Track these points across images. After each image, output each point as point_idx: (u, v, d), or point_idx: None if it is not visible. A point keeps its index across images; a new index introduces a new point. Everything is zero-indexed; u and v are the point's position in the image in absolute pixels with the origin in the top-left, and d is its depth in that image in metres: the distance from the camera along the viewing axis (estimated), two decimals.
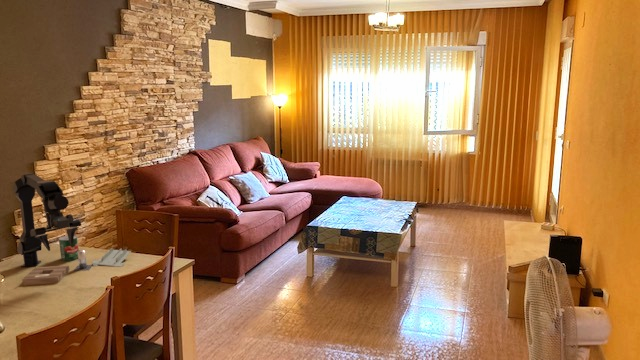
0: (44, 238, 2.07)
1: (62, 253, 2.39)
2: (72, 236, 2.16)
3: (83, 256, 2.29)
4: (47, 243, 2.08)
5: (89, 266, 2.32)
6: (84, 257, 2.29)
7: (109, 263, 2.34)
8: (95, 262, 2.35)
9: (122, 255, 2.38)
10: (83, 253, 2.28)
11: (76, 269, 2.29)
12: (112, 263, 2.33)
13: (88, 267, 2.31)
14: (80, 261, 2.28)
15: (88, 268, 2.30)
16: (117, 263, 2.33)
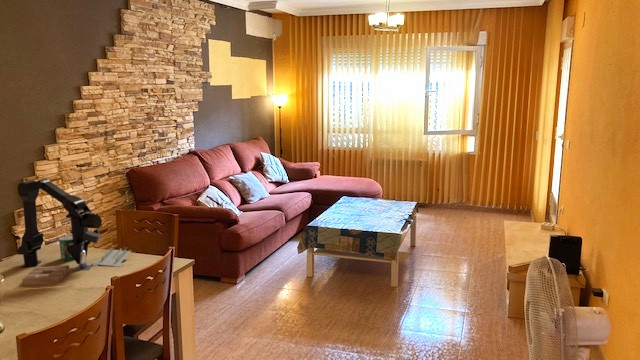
0: (80, 252, 2.23)
1: (62, 253, 2.39)
2: (87, 248, 2.34)
3: (83, 256, 2.29)
4: (80, 257, 2.24)
5: (89, 266, 2.32)
6: (84, 257, 2.29)
7: (109, 263, 2.33)
8: (95, 262, 2.35)
9: (122, 255, 2.38)
10: (83, 253, 2.28)
11: (76, 269, 2.29)
12: (112, 263, 2.33)
13: (88, 267, 2.31)
14: (80, 261, 2.28)
15: (88, 268, 2.30)
16: (117, 263, 2.33)
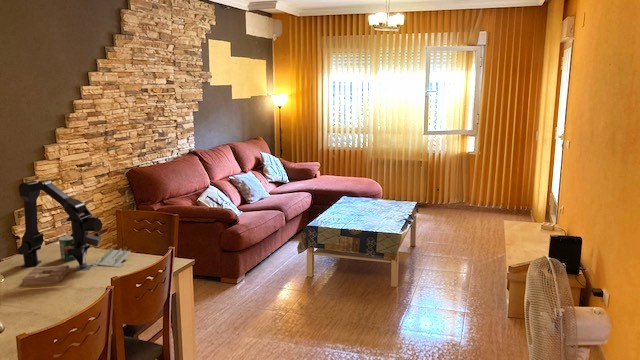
0: None
1: (62, 253, 2.39)
2: None
3: (83, 256, 2.29)
4: (82, 258, 2.27)
5: (89, 266, 2.32)
6: (84, 257, 2.29)
7: (108, 263, 2.33)
8: (95, 262, 2.34)
9: (122, 255, 2.38)
10: None
11: (76, 269, 2.29)
12: (111, 263, 2.33)
13: (88, 267, 2.31)
14: None
15: (88, 268, 2.30)
16: (116, 263, 2.33)
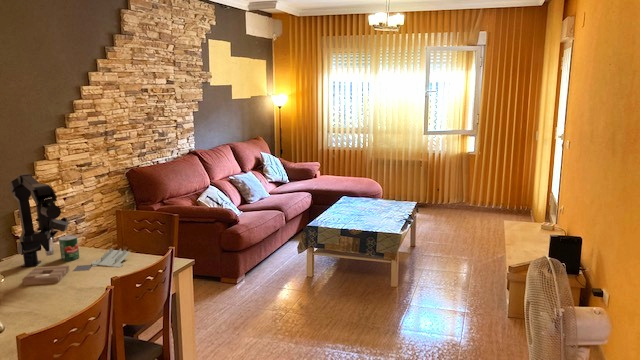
0: (49, 239, 2.15)
1: (62, 253, 2.39)
2: None
3: (50, 242, 2.17)
4: (49, 244, 2.16)
5: (89, 266, 2.32)
6: (51, 243, 2.18)
7: (108, 263, 2.33)
8: (94, 262, 2.34)
9: (121, 255, 2.37)
10: (50, 239, 2.17)
11: (76, 269, 2.29)
12: (111, 263, 2.33)
13: (88, 267, 2.31)
14: None
15: (88, 268, 2.30)
16: (116, 263, 2.33)
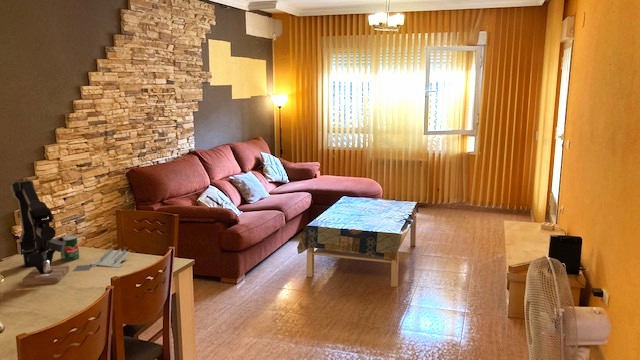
0: (43, 262, 2.13)
1: (62, 253, 2.39)
2: (52, 257, 2.23)
3: (47, 266, 2.18)
4: (43, 266, 2.14)
5: (89, 266, 2.32)
6: (48, 267, 2.18)
7: (107, 264, 2.33)
8: (94, 262, 2.34)
9: (121, 256, 2.37)
10: (47, 263, 2.18)
11: (76, 269, 2.29)
12: (110, 264, 2.33)
13: (88, 267, 2.31)
14: None
15: (88, 268, 2.30)
16: (115, 264, 2.33)
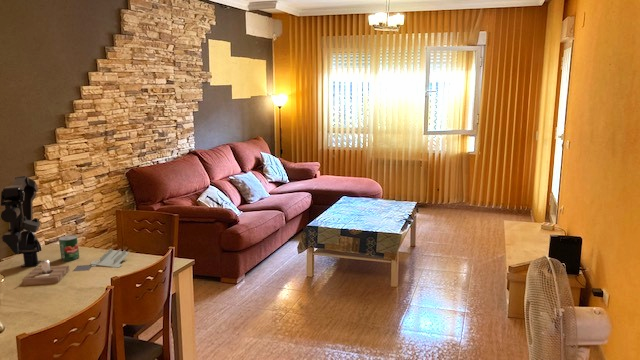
0: (18, 242, 2.14)
1: (62, 253, 2.39)
2: (26, 238, 2.26)
3: (47, 266, 2.18)
4: (17, 247, 2.16)
5: (89, 266, 2.32)
6: (48, 267, 2.18)
7: (107, 264, 2.33)
8: (93, 262, 2.34)
9: (120, 256, 2.37)
10: (47, 263, 2.18)
11: (76, 269, 2.29)
12: (110, 264, 2.33)
13: (88, 267, 2.31)
14: (43, 272, 2.18)
15: (88, 268, 2.30)
16: (115, 264, 2.32)
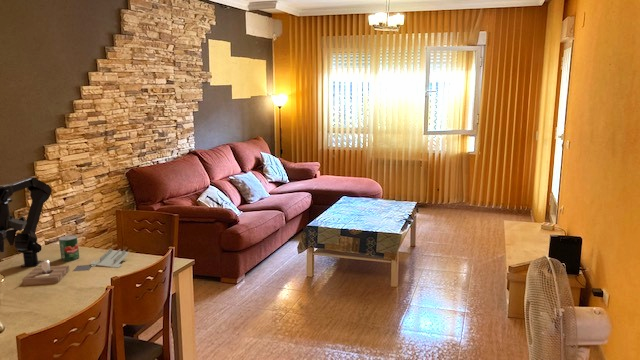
0: (3, 240, 2.16)
1: (62, 253, 2.39)
2: (14, 237, 2.27)
3: (47, 266, 2.18)
4: (3, 245, 2.17)
5: (89, 266, 2.32)
6: (48, 267, 2.18)
7: (107, 264, 2.33)
8: (93, 262, 2.34)
9: (120, 256, 2.37)
10: (47, 263, 2.18)
11: (76, 269, 2.29)
12: (110, 264, 2.32)
13: (88, 267, 2.31)
14: (43, 272, 2.18)
15: (88, 268, 2.30)
16: (115, 264, 2.32)
